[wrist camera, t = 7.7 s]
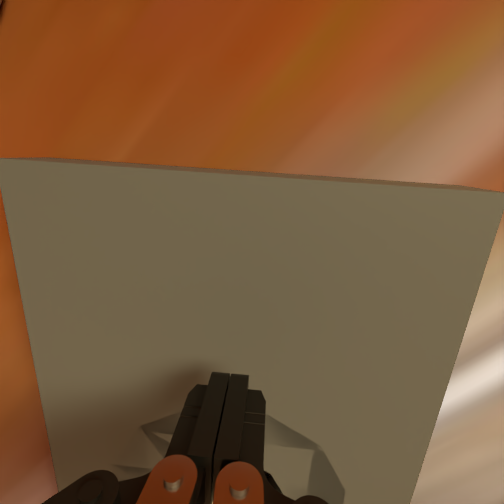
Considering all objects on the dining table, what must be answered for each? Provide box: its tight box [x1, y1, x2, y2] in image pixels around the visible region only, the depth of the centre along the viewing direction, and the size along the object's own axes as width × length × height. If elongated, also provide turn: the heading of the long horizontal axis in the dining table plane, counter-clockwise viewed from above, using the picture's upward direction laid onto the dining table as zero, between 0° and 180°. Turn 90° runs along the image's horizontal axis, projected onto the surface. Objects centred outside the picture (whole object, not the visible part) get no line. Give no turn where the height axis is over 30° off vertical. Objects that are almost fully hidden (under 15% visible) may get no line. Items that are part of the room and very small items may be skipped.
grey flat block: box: [0, 158, 504, 504], centre depth 17 cm, size 20×26×3 cm
